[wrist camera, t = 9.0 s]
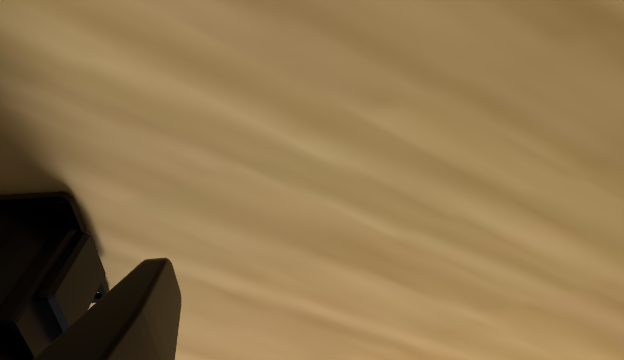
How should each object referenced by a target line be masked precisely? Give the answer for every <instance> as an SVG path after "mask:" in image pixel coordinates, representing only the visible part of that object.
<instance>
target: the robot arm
mask: <svg viewBox="0 0 624 360" xmlns="http://www.w3.org/2000/svg"><path fill="white" fill-rule="evenodd" d="M58 201H62V202H63V203H65V205H62V204H60V203H59V202H58ZM104 276H105V271H104V268H103V265H102V263H101V260H100V258H99V255H98V252H97V250H96V247H95V244H94V242H93V239H92V237H91V235H90V234H89V233H88V232H87V230H86V228H85V225H84V223H83V220H82V217H81V215H80V212H79V210H78V207H77V204H76V202H75V199H74V198H73V196H71V195H70V194H69V193H66V192H61V191H59V192H45V193H30V194H16V195H1V196H0V360H175V352H176V344H177V336H178V328H179V319H180V311H181V293H180V289H179V286H178V282H177V279H176V276H175V272H174V269H173V266H172V263H171V261H170V260H169V259H167V258H156V259H147V260H144V261H143V262H141V263H140V264H139V265H138V266H137V267H136V268H135V269H133V270H132V271H131V272H130V273H129V274H128V275H127V276H126V277H125V278H123V279H122V280H121V281H120V282H119V283H118V284H117V285H116V286H114V287H113V288H112V289H111V290H110V291H109V288H108V285H107V282H106V280H105V277H104ZM97 292H99V293H97ZM91 303H95V304H94V305H93V306H92V307H91V308H90V309H89V310H88V308H89V306H90V304H91ZM87 310H88V311H87Z"/></svg>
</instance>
